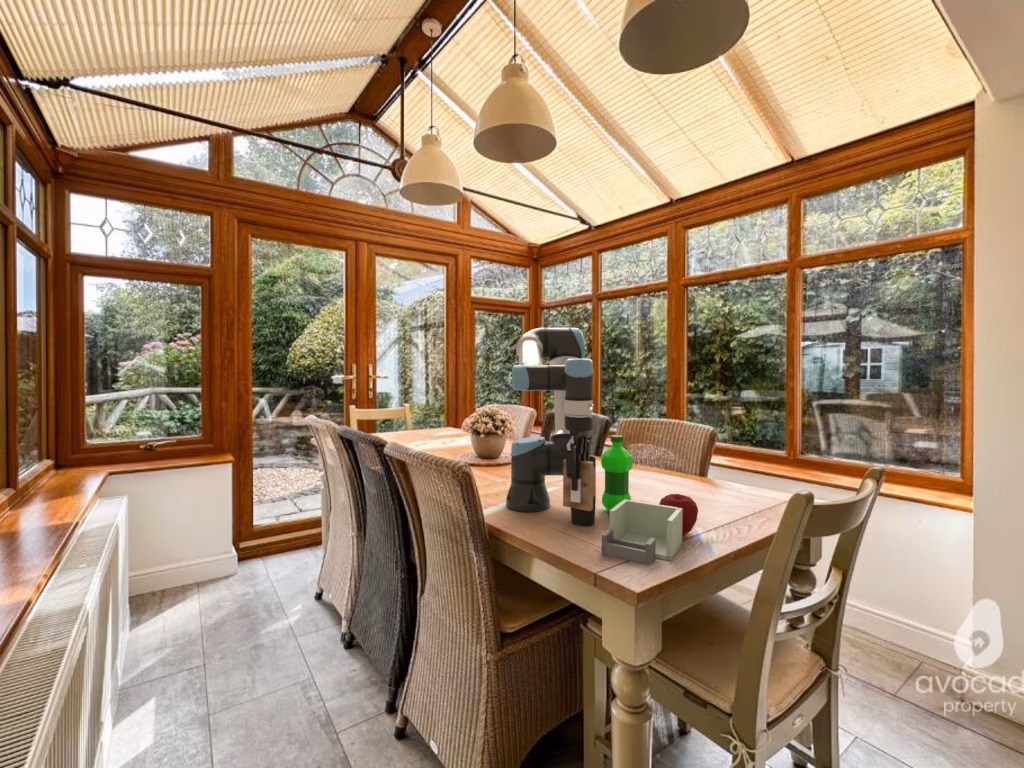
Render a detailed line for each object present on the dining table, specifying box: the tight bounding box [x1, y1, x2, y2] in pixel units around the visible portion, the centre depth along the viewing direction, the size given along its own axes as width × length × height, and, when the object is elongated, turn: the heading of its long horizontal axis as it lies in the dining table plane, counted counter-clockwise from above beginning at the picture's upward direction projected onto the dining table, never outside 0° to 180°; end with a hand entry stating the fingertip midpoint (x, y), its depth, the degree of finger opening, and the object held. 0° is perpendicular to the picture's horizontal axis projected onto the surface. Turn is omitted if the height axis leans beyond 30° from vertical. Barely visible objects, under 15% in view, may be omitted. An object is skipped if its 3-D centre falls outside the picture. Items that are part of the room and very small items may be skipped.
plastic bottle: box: [600, 434, 634, 513], centre depth 155 cm, size 10×10×25 cm
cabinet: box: [601, 499, 683, 566], centre depth 123 cm, size 16×17×10 cm
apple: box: [658, 493, 699, 537], centre depth 134 cm, size 11×11×12 cm
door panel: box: [562, 459, 594, 511], centre depth 128 cm, size 8×3×13 cm, turn 58°
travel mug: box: [570, 455, 597, 527], centre depth 144 cm, size 8×8×20 cm
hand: (577, 500), depth 129 cm, fingers closed on door panel, 2 cm apart
